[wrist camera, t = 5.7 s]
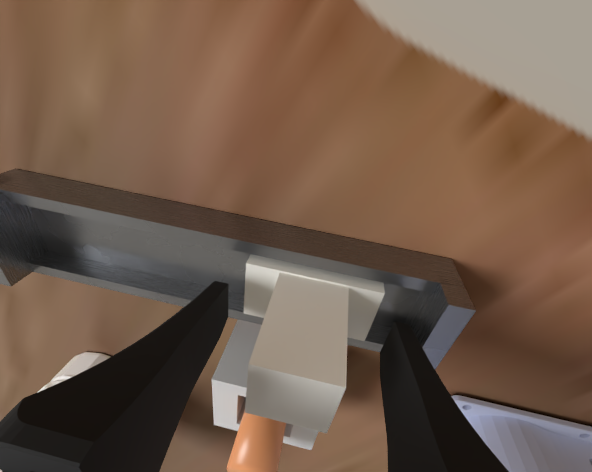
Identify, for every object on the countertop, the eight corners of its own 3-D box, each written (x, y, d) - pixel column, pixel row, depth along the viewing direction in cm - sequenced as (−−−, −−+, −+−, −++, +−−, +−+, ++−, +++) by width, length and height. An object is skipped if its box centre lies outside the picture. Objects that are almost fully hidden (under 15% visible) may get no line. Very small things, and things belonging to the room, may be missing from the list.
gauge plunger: (294, 379, 17) (278, 471, 13) (289, 400, 18) (273, 489, 14) (254, 369, 17) (226, 457, 13) (252, 391, 18) (226, 477, 15)
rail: (451, 258, 13) (476, 310, 11) (413, 329, 16) (424, 384, 13) (15, 168, 15) (-60, 194, 12) (48, 247, 18) (-7, 282, 15)
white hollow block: (332, 341, 18) (327, 408, 14) (318, 385, 20) (311, 450, 17) (238, 319, 18) (211, 379, 15) (236, 365, 21) (214, 424, 18)
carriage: (382, 274, 13) (397, 398, 8) (363, 321, 15) (367, 445, 10) (254, 247, 14) (201, 350, 9) (250, 296, 15) (204, 403, 11)
